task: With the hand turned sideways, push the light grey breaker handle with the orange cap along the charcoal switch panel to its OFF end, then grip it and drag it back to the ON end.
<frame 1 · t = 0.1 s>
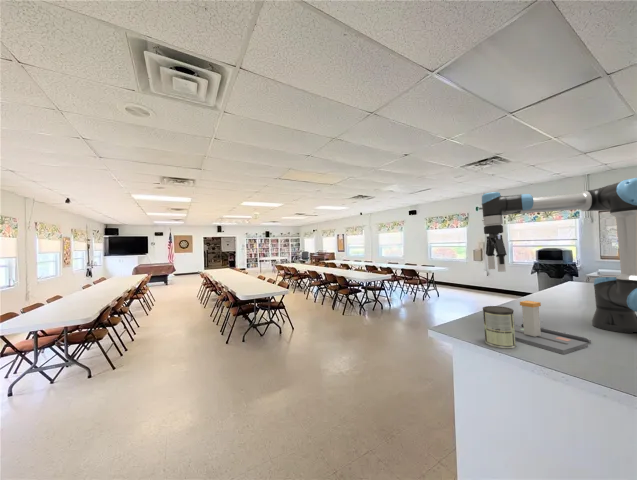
hand: (496, 270, 121), 28 cm above the table, tool pointing down, fingers open, 13 cm apart
grey flat bar: (551, 335, 111), on the table
breaker handle: (531, 318, 108), point 9 cm above the table, slide at 5.0 cm
switch panel: (535, 339, 106), on the table
coffee can: (500, 344, 104), on the table
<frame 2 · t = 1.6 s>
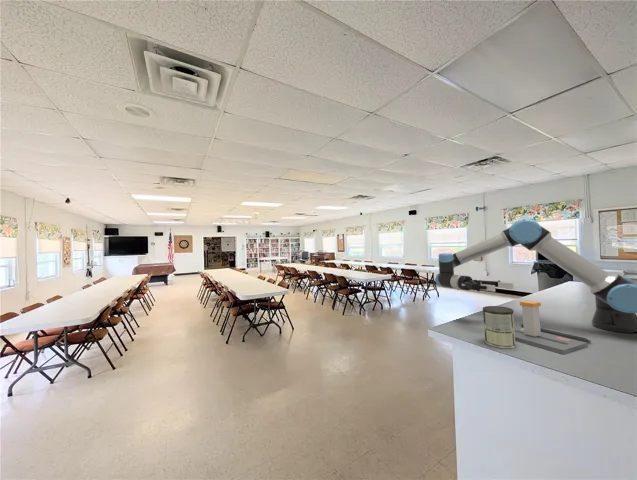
hand: (504, 287, 118), 20 cm above the table, tool horizontal, fingers open, 12 cm apart
nothing on the table moved.
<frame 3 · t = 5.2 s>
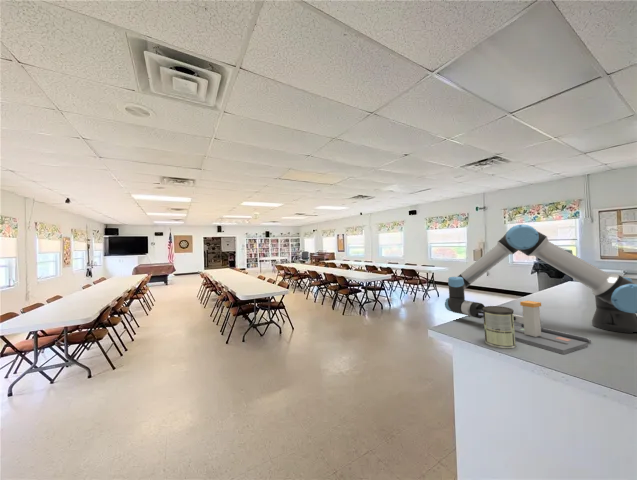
hand: (525, 320, 109), 7 cm above the table, tool horizontal, fingers closed
breaker handle: (531, 318, 108), point 9 cm above the table, slide at 5.2 cm, touching gripper
everything else where it was.
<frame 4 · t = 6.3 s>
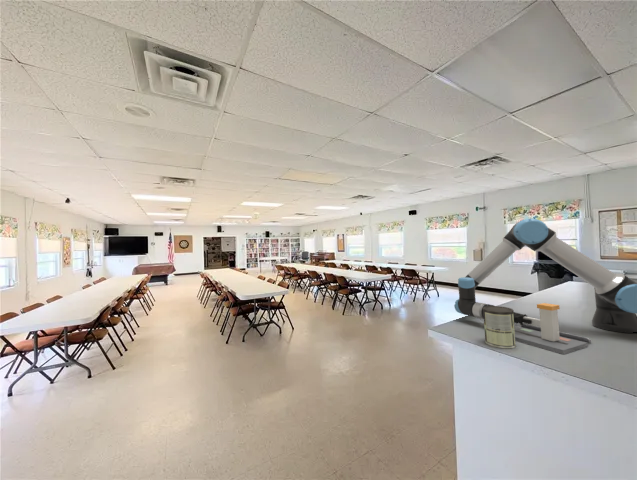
hand: (542, 323, 104), 7 cm above the table, tool horizontal, fingers closed
breaker handle: (549, 321, 102), point 9 cm above the table, slide at 11.3 cm, touching gripper
everything else where it was.
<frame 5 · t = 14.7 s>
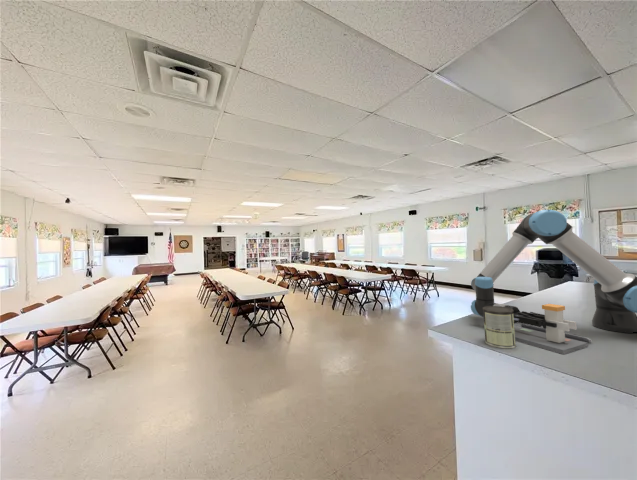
hand: (572, 326, 95), 8 cm above the table, tool horizontal, fingers closed on breaker handle, 4 cm apart
breaker handle: (554, 323, 100), point 9 cm above the table, slide at 13.0 cm, touching gripper
everything else where it was.
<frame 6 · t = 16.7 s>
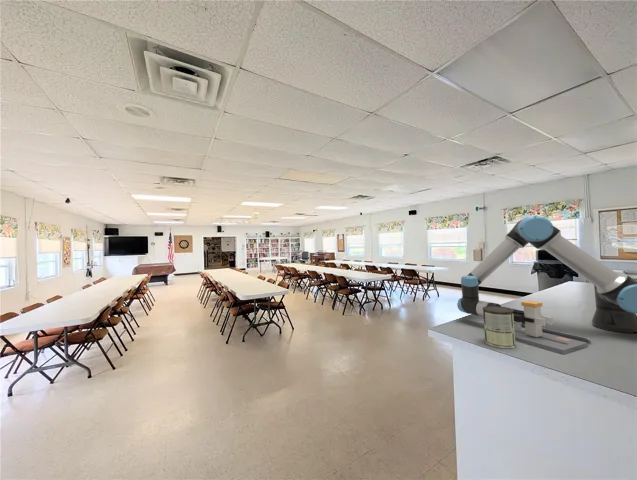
hand: (548, 321, 102), 9 cm above the table, tool horizontal, fingers closed on breaker handle, 4 cm apart
breaker handle: (532, 318, 107), point 9 cm above the table, slide at 5.6 cm, touching gripper
everything else where it was.
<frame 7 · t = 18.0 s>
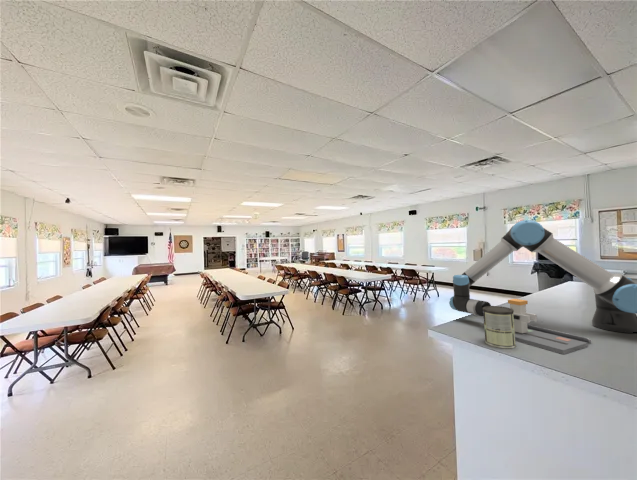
hand: (532, 318, 107), 9 cm above the table, tool horizontal, fingers closed on breaker handle, 4 cm apart
breaker handle: (518, 315, 112), point 9 cm above the table, slide at 0.2 cm, touching gripper
everything else where it was.
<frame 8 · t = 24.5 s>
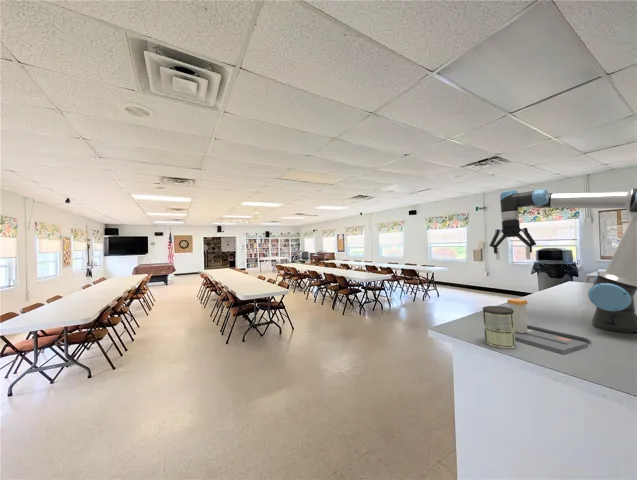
hand: (513, 259, 137), 32 cm above the table, tool pointing down, fingers open, 13 cm apart
breaker handle: (518, 315, 112), point 9 cm above the table, slide at 0.0 cm
everything else where it was.
at the end: breaker handle slide at 0.0 cm; the gripper is holding nothing; coffee can moved 0.2 cm from its start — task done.
